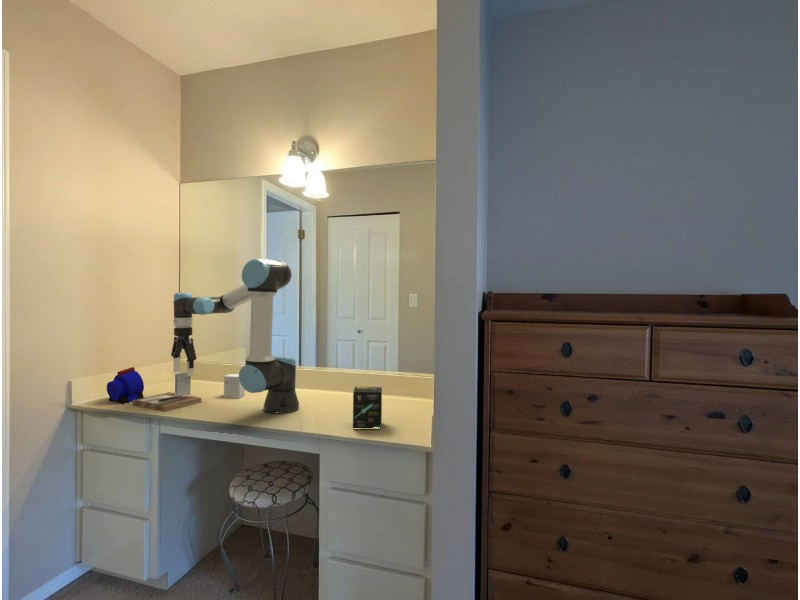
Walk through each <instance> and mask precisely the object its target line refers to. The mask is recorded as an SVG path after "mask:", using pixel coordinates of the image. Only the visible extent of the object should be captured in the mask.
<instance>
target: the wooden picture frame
mask: <svg viewBox="0 0 800 600" xmlns="http://www.w3.org/2000/svg"><path fill="white" fill-rule="evenodd" d="M170 397H176V396H175V392H169V391H168V392H163V393H159V394H155V395H149V396H147V397H145V396H144V398H141V399H136V400H132V404H134V405H133V406H136V405H139V406H138V407H141V406H144V407H143V408H146V407H148V408H147V409H151V408H153V409H152V410H156V409H159V410H158V411H161V410H164V411H163V412H169V411H168V410H170V411H173V410H172V409H174V410H177V409H181V408H184V406H185V407H188V405H189V406H192V404H193V405H195V404H199V403H202V397H200V396H199V397H198V396H192V395H186V397H184V398H176V399H170V400H164V401H159V399H164V398H170ZM180 407H181V408H180ZM176 408H177V409H176Z"/></svg>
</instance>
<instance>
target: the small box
mask: <svg viewBox="0 0 800 600" xmlns="http://www.w3.org/2000/svg"><path fill="white" fill-rule="evenodd" d="M245 391H246V390H245V389H244V388H243V387H242V385H241V383H240V381H239V373H236V374H235V373H229V374H226V375H224V376H223V397H224V398H226V399H240V397H241V398H242V396H243V397H245V396H246V395H245V394H246V393H245Z"/></svg>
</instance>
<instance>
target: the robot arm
mask: <svg viewBox="0 0 800 600" xmlns="http://www.w3.org/2000/svg"><path fill="white" fill-rule="evenodd" d="M291 279H292V269H291V268H290V266H289V264H287V263H286V262H284V261H282V260H277V259H275V260H274V259H267V258H253V259H251V260H249V261H247V262H246V264H245V265H243V268H242V271H241V280H242V282H243V285H241V286H239V287H237V288H235V289H233V290H231V291H228V292H226V293H224V294H222V295H221V296H212V297H211V296H206V297H205V296H202V297H201V296H199V297H198V296H197V297H194V296H193V294H192V292H175V293H174V295H173V302H172V303H173V326H174V328H173V335H174V337H173V343H172V344H173V345H172V349H171V351H170V352H171V353H170V356H171V357H172V358H173V360H172V361H173V373H181V353H182V351H184V352H185V356H186V372H187V376H194V375H195V373H194V372H195V370H194V369H195V366H194V365H195V360H197V355H196V350H195V345H194V339H193V338H192V337H191V338H190V336H193V327H192V326H193V315H201V316H203V315H205V316H206V315H210V314H228V313H231V312H232V313H233V312H234V310H235V309H236V307H239V306H241V305H244V304H245V303H248V302H249V301H251V302H250V303H251V304H250V326H249V327H250V329H249V332H250V333H249V354H248V355H247V356H246V358H245V361H244V362H245V364H244V366H242V367H241V368H240V370H239V373H238V374H239V381H240V383H241V385H242V387H243V388H244V389H245V391H246V392H248V393H250V394H256V393H262V392H265V391H267V393H266V397H265V400H264V402H263V411H264V412H266V411H267V412H266V413H269V412H288V413H290V412H289V411H293V412H295V411H294V410H296V411H298V410H299V409H300V402H299V399H298V396H297V392H296V373H297V372H296V371H297V370H296V369H297V365H296V359H295V357H291V356H284V355H283V356H282V355H281V356H280V355H279V356H278V355H273V354H272V352H273V351H272V347H273V345H272V344H273V312H274V310H273V309H274V297H275V295H276V294H278V291H279V290H281V289H283V288H284V287H286V286H287V285H289V283H290V282H291ZM298 408H299V409H298ZM297 409H298V410H297Z"/></svg>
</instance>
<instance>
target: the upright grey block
mask: <svg viewBox="0 0 800 600" xmlns="http://www.w3.org/2000/svg"><path fill="white" fill-rule="evenodd" d="M191 378H192V377H191V376H187V371H186V372H176V373H174V393H175V396H176V397H170V398H164V399H159V401H164V400H170V399H176V398H184V397H186V395H188V396H191Z"/></svg>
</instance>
